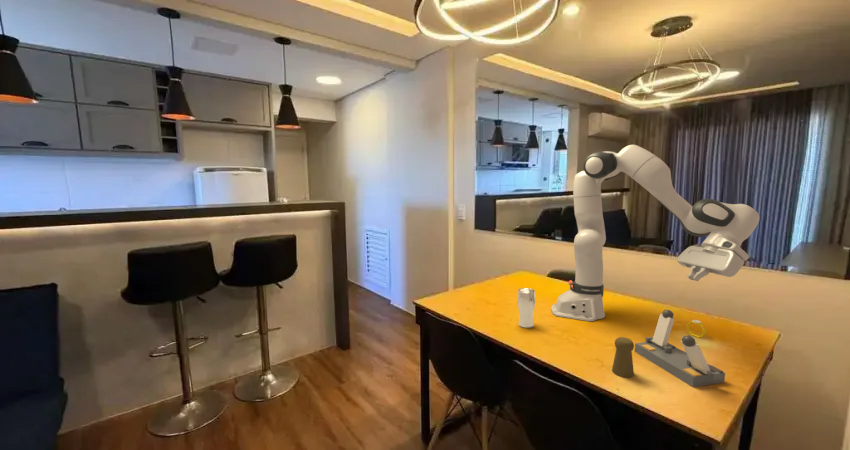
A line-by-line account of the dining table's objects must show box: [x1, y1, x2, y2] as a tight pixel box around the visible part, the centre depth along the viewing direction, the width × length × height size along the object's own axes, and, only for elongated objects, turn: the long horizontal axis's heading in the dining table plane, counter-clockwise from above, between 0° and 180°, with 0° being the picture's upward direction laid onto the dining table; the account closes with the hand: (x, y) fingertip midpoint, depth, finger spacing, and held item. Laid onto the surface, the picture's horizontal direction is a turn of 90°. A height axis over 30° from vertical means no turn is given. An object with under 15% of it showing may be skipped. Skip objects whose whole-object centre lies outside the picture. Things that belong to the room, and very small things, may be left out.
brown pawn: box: [611, 336, 635, 379], centre depth 110 cm, size 6×6×11 cm
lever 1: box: [650, 309, 675, 349], centre depth 120 cm, size 3×6×13 cm, turn 11°
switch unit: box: [634, 336, 726, 388], centre depth 112 cm, size 11×24×5 cm, turn 10°
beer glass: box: [517, 287, 536, 329], centre depth 147 cm, size 7×7×15 cm
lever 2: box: [680, 334, 712, 376], centre depth 103 cm, size 3×6×13 cm
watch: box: [686, 319, 707, 339], centre depth 134 cm, size 6×3×6 cm, turn 23°
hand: (692, 279), depth 119 cm, fingers closed
